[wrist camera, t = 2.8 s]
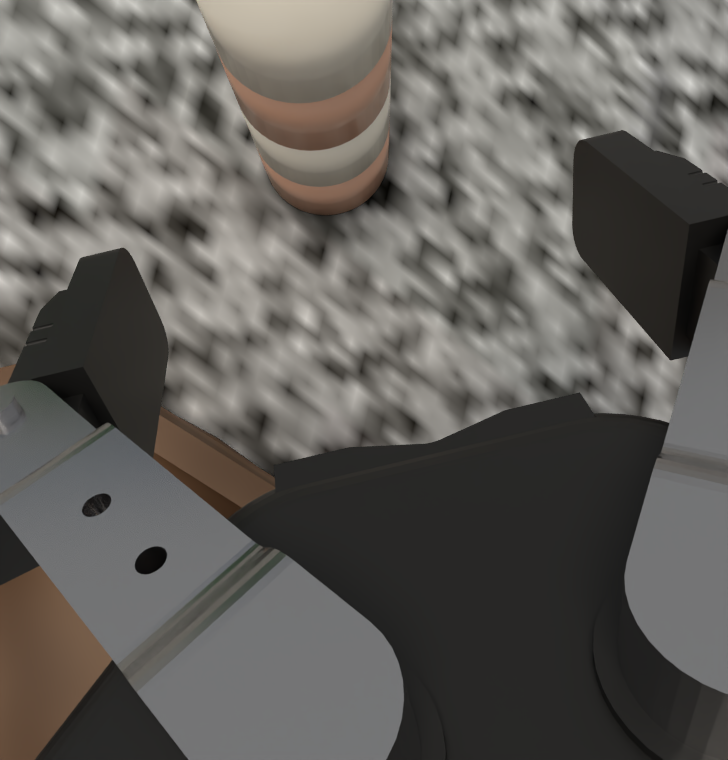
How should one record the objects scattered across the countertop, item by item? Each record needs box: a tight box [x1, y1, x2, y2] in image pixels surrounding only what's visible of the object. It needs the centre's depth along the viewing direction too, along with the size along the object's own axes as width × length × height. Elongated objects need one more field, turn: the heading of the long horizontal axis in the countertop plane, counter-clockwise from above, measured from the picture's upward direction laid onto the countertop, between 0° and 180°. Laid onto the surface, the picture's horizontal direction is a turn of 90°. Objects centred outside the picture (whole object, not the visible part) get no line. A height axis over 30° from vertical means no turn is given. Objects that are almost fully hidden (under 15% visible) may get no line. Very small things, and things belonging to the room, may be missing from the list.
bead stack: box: [196, 0, 393, 215], centre depth 19 cm, size 4×4×10 cm
